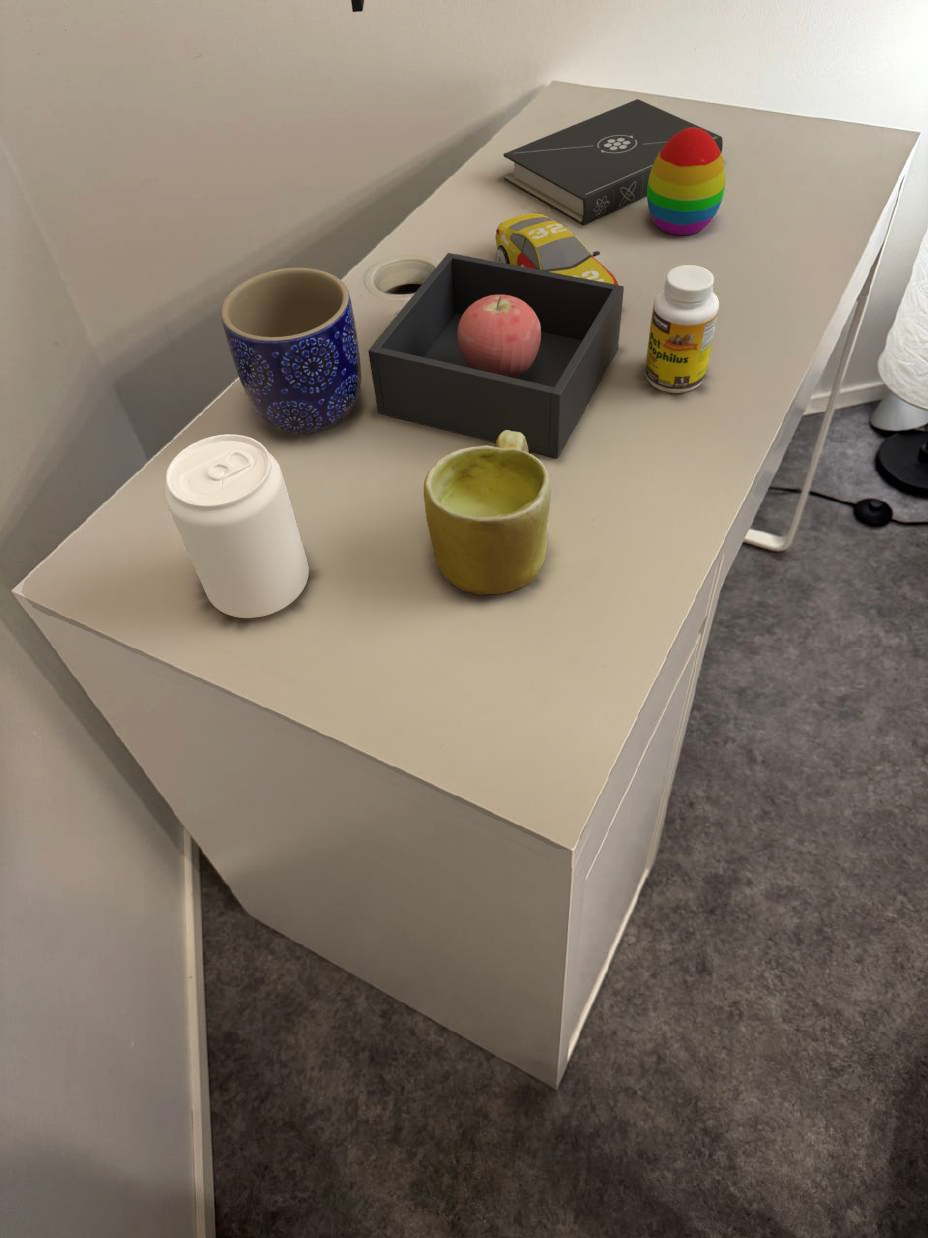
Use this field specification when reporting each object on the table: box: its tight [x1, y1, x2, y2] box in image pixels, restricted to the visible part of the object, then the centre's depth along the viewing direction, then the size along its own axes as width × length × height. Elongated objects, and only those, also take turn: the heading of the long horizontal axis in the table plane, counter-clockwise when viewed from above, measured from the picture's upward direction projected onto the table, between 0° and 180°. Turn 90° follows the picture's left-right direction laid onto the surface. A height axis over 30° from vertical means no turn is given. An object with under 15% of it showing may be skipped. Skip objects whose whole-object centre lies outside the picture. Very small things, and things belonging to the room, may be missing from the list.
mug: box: [423, 430, 552, 596], centre depth 69 cm, size 12×10×10 cm
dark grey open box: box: [367, 252, 625, 459], centre depth 82 cm, size 18×17×7 cm
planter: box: [220, 267, 363, 434], centre depth 79 cm, size 11×11×11 cm
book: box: [503, 98, 724, 225], centre depth 107 cm, size 22×15×3 cm
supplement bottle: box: [644, 264, 720, 394], centre depth 80 cm, size 6×6×10 cm
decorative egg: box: [646, 127, 726, 236], centre depth 96 cm, size 8×8×10 cm
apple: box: [458, 295, 541, 378], centre depth 81 cm, size 7×7×8 cm
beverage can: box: [164, 433, 310, 619], centre depth 66 cm, size 8×8×12 cm
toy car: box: [495, 212, 619, 285], centre depth 92 cm, size 8×17×5 cm, turn 26°
